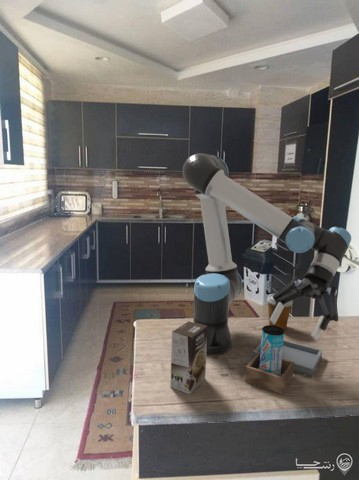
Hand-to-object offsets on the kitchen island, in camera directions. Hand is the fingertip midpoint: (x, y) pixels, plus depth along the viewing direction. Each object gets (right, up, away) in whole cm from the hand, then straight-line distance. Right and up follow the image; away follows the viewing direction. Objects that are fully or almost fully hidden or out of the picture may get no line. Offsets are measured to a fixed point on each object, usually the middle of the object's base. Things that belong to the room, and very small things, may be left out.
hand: (291, 330), depth 102 cm
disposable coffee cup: (+5, -8, +34) cm, 35 cm away
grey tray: (+2, -12, +10) cm, 16 cm away
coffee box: (-30, -14, -4) cm, 33 cm away
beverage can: (-7, -14, -1) cm, 16 cm away
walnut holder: (-7, -14, -2) cm, 15 cm away
